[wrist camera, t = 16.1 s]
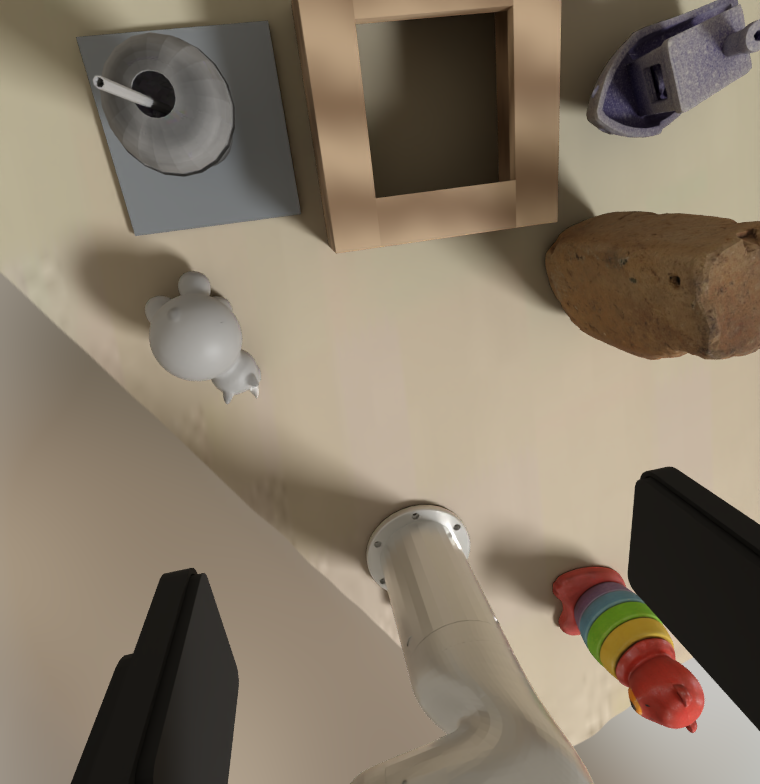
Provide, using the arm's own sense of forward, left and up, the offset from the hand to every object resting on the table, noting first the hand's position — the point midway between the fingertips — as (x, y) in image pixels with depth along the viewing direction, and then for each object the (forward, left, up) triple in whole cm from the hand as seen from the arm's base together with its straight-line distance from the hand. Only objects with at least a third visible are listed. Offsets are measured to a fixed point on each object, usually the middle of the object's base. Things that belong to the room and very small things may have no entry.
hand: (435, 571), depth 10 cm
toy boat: (+14, -30, -38) cm, 51 cm away
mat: (+14, +8, -38) cm, 41 cm away
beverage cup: (+14, +8, -38) cm, 41 cm away
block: (-2, -26, -38) cm, 46 cm away
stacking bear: (-46, -29, -38) cm, 67 cm away
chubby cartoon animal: (-3, +11, -38) cm, 40 cm away
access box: (+13, -10, -38) cm, 41 cm away
